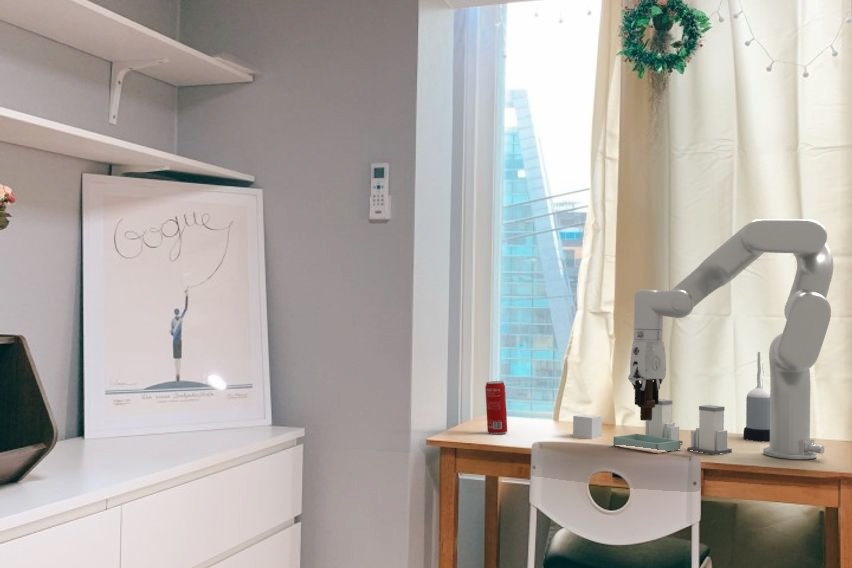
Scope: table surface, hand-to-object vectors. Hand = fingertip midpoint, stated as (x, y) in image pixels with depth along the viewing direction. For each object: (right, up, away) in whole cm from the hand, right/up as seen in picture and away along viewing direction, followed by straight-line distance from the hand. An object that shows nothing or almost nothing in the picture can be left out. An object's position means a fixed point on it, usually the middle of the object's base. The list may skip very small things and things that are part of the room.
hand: (646, 403), depth 232 cm
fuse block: (+11, -12, +2) cm, 16 cm away
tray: (0, -12, 0) cm, 12 cm away
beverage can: (-38, -12, +22) cm, 45 cm away
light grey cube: (-12, -12, +18) cm, 25 cm away
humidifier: (+37, -13, +18) cm, 43 cm away
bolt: (0, -5, 0) cm, 5 cm away
